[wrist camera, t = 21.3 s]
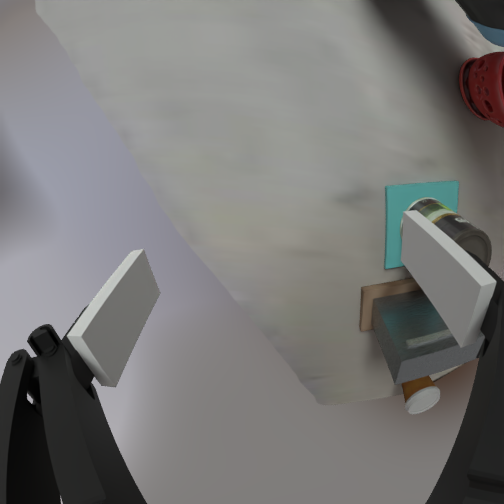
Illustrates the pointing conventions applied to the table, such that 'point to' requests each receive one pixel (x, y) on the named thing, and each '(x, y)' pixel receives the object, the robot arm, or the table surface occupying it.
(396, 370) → the mounted unit
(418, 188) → the pad
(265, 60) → the table surface
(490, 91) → the plant pot
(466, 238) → the coffee can
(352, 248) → the table surface
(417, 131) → the table surface
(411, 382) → the disposable coffee cup
